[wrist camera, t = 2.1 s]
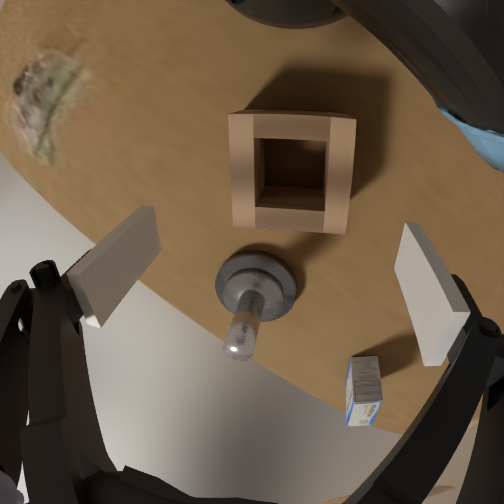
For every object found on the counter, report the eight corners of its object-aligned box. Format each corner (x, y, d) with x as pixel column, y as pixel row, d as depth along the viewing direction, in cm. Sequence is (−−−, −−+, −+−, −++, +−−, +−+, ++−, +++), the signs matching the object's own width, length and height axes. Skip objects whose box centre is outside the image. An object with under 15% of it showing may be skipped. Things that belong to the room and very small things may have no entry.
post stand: (215, 247, 36) (181, 307, 26) (299, 254, 34) (292, 321, 25) (221, 309, 41) (197, 371, 31) (293, 317, 39) (285, 384, 30)
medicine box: (350, 355, 41) (352, 403, 34) (378, 354, 40) (383, 401, 33) (345, 383, 45) (345, 427, 38) (370, 382, 44) (373, 425, 37)
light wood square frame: (243, 109, 27) (228, 114, 22) (346, 113, 25) (356, 119, 20) (246, 202, 32) (233, 226, 27) (339, 208, 30) (345, 234, 25)
